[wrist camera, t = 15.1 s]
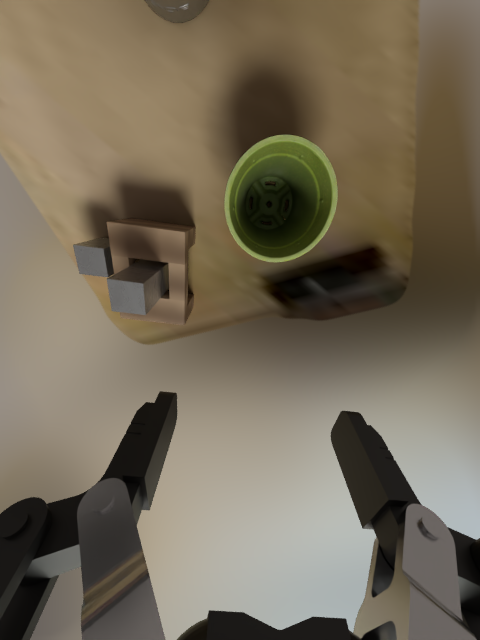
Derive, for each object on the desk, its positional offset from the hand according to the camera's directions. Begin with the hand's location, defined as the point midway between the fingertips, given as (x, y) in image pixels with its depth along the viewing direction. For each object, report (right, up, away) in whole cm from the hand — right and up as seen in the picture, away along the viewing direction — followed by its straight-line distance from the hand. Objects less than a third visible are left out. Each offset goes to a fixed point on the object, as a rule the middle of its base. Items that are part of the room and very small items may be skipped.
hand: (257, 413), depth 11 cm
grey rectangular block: (-21, +16, +26) cm, 37 cm away
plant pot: (+4, +22, +23) cm, 32 cm away
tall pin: (-14, +14, +27) cm, 33 cm away
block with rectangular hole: (-14, +14, +27) cm, 33 cm away
